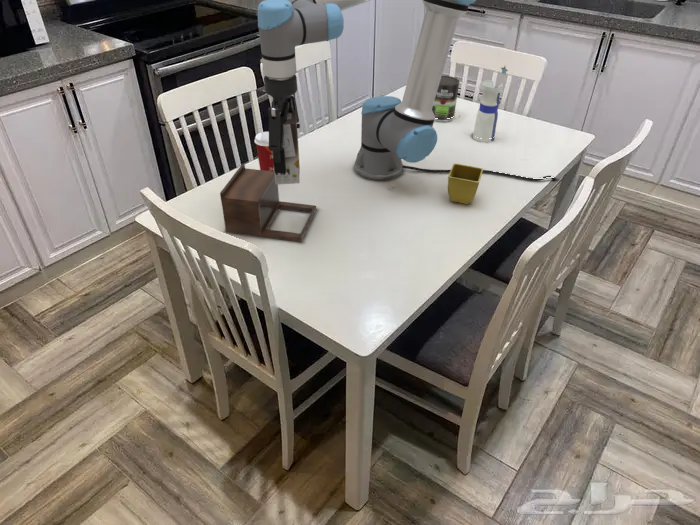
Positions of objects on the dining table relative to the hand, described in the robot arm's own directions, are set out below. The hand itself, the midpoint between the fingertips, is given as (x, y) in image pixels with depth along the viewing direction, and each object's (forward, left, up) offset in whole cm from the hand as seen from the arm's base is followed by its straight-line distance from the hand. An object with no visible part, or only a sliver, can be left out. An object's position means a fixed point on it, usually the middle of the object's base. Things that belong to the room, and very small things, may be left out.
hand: (286, 162), depth 136 cm
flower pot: (-46, -23, -19) cm, 55 cm away
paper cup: (+13, -23, -19) cm, 32 cm away
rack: (+6, 0, -19) cm, 19 cm away
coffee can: (-36, -83, -19) cm, 92 cm away
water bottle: (-52, -68, -19) cm, 87 cm away
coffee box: (0, 0, -4) cm, 4 cm away
